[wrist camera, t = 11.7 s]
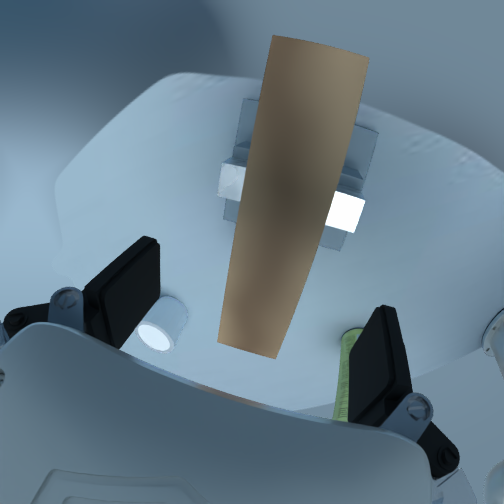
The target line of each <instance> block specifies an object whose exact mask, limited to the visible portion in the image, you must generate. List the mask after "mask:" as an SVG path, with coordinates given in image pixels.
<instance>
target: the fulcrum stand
mask: <svg viewBox="0 0 504 504" xmlns="http://www.w3.org/2000/svg"><path fill="white" fill-rule="evenodd" d="M258 104H259V101H256V100H250V99H243V103H242V109H241V114H240V120H239V125H238V131H237V136H236V142H235V146H234V150H233V156H232V157H231V158H229V159H227V160H226V161H224V162H222V165H221V172H220V179H219V186H218V193H217V196H219V197H223V198H226V204H225V210H224V217H223V219H224V220H228V221H232V222H235V223H236V222H237V217H238V211H239V205H240V200H241V194H242V188H243V183H244V177H245V172H246V166H247V161H248V156H249V150H250V145H251V140H252V134H253V129H254V124H255V119H256V114H257V109H258ZM378 134H379V133H377V132H375V131H372V130H369V129H366V128H363V127H360V126H357V125H354V128H353V132H352V135H351V139H350V143H349V147H348V150H347V154H346V158H345V161H344V165H343V168H342V172H341V175H340V179H339V182H338V185H337V189H336V192H335V195H334V199H333V202H332V205H331V208H330V211H329V215H328V218H327V221H326V224H325V227H324V230H323V233H322V236H321V239H320V242H319V246H323V247H326V248H330V249H333V250H337V251H340V250H341V248H342V245H343V242H344V240H345V237H346V234H347V232H348V231H349V232H352V233H354V231H355V228H356V225H357V223H358V220H359V217H360V214H361V212H362V209H363V206H364V203H365V199H364V197H363V195H362V192H361V191H362V188H363V185H364V181H365V178H366V175H367V172H368V168H369V165H370V162H371V158H372V155H373V152H374V148H375V144H376V141H377V137H378Z"/></svg>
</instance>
